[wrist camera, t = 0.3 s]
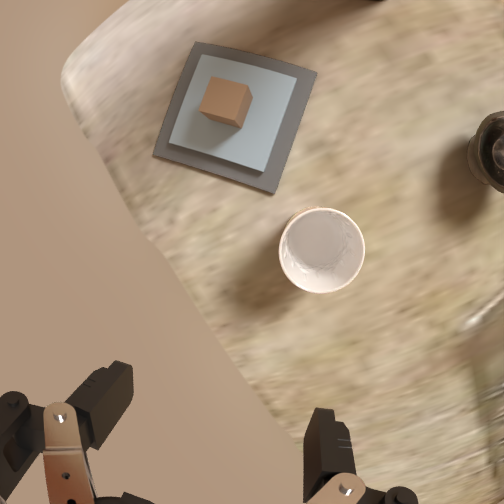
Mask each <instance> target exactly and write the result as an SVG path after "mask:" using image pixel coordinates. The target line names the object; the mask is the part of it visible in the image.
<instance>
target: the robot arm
mask: <svg viewBox="0 0 504 504" xmlns="http://www.w3.org/2000/svg"><path fill="white" fill-rule="evenodd" d="M133 393H134V391H133V368H132V366H131V365H129V364H126V363H123V362H120V361H114V362H113V363H112V364H111V365H110V366H109V368H108V369H107V368H104V367H102V368H100V369H98V370H95V371H94V372H93V373H92V374H91V375H90V376H89V377H88V378H87V379H86V380H85V381H84V382H83V384H81V385H80V386H79V387H78V388H77V389H76V390H75V391H74V392H73V394H72V395H71V396H70V397H69V398H68V399H67V400H66V401H65V402H55V403H52V404H50V405H48V406H47V407H46V408H45V407H40V406H36V405H31V404H29V402H28V399H27V397H26V396H25V395H24V394H22V393H20V392H17V391H10V392H7V393H5V394H3V395H2V396H1V397H0V504H6V500H7V499H8V497H9V496H10V494H11V493H12V491H13V490H14V489H15V487H16V486H17V484H18V483H19V481H20V480H21V479H22V477H23V476H24V474H25V473H26V471H27V470H28V469H29V467H30V466H31V464H32V463H33V462H34V460H35V459H36V457H37V456H38V455H39V453H43V460H44V468H45V477H46V484H47V490H48V497H49V502H50V504H154V503H152V502H151V501H148V500H145V499H143V498H140V497H137V496H134V495H132V494H129V493H126V492H124V493H123V495H122V497H121V498H120V497H98V495H97V492H96V489H95V486H94V482H93V479H92V474H91V471H90V466H89V462H88V458H87V454H86V451H87V449H88V448H89V447H92V448H94V449H96V450H99V448H100V447H101V445H102V444H103V443H104V441H105V440H106V438H107V436H108V435H109V434H110V432H111V431H112V429H113V428H114V426H115V425H116V424H117V422H118V420H119V419H120V418H121V416H122V415H123V413H124V412H125V410H126V409H127V407H128V406H129V405H130V403H131V401H132V397H133ZM350 440H351V439H350V433H349V430H348V428H347V427H346V426H345V424H344V423H343V422H338V421H335V415H334V410H333V409H324V408H315V410H314V412H313V415H312V418H311V420H310V423H309V425H308V428H307V430H306V433H305V437H304V443H303V455H304V479H303V482H304V484H303V485H304V487H303V503H306V504H418V499H417V496H416V494H415V493H414V492H413V491H412V490H410V489H408V488H406V487H401V486H398V487H393V488H391V489H390V490H388V491H387V493H386V492H382V491H378V490H374V489H371V488H368V487H366V486H365V484H364V482H363V480H362V479H361V478H360V477H358V476H357V475H356V469H355V463H354V457H353V451H352V445H351V441H350Z"/></svg>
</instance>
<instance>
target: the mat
mask: <svg viewBox="0 0 504 504" xmlns="http://www.w3.org/2000/svg"><path fill="white" fill-rule="evenodd" d="M202 54H204V55H209V56H214V57H218V58H223V59H228V60H232V61H236V62H240V63H245V64H249V65H252V66H256V67H260V68H264V69H267V70H271V71H274V72H278V73H281V74H285V75H288V76H291V77H294V78H297V81H296V84H295V87H294V90H293V92H292V95H291V98H290V101H289V103H288V106H287V109H286V112H285V115H284V117H283V120H282V123H281V126H280V129H279V131H278V134H277V137H276V140H275V143H274V146H273V148H272V151H271V154H270V157H269V160H268V163H267V166H266V168H265V171H264V172H262V171H259V170H256V169H253V168H250V167H247V166H244V165H241V164H238V163H235V162H232V161H229V160H225V159H222V158H219V157H216V156H213V155H209V154H206V153H203V152H199V151H196V150H193V149H189V148H186V147H182V146H179V145H175V144H172V143H169V140H170V137H171V134H172V131H173V128H174V125H175V123H176V120H177V117H178V114H179V111H180V109H181V106H182V103H183V100H184V98H185V95H186V92H187V90H188V87H189V85H190V82H191V80H192V77H193V75H194V72H195V70H196V67H197V65H198V62H199V60H200V58H201V55H202ZM316 76H317V72H315V71H312V70H309V69H306V68H302V67H299V66H296V65H293V64H290V63H286V62H283V61H279V60H276V59H272V58H269V57H265V56H261V55H257V54H253V53H249V52H245V51H240V50H236V49H232V48H227V47H222V46H217V45H212V44H206V43H201V42H195V43H194V46H193V48H192V50H191V53H190V55H189V57H188V60H187V62H186V64H185V67H184V69H183V72H182V74H181V77H180V79H179V82H178V84H177V87H176V89H175V92H174V95H173V97H172V100H171V103H170V105H169V108H168V111H167V114H166V117H165V119H164V122H163V125H162V128H161V131H160V134H159V137H158V140H157V143H156V146H155V149H154V152H153V155H156V156H159V157H163V158H166V159H169V160H173V161H176V162H179V163H183V164H186V165H189V166H192V167H195V168H199V169H202V170H205V171H208V172H211V173H214V174H217V175H221V176H224V177H227V178H230V179H233V180H236V181H239V182H242V183H245V184H248V185H250V186H253V187H256V188H259V189H262V190H265V191H268V192H271V193H273V194H275V192H276V189H277V187H278V184H279V181H280V178H281V175H282V172H283V170H284V167H285V164H286V161H287V158H288V155H289V152H290V150H291V147H292V144H293V141H294V138H295V135H296V133H297V130H298V127H299V124H300V121H301V118H302V116H303V113H304V110H305V107H306V104H307V101H308V98H309V96H310V93H311V90H312V87H313V84H314V81H315V78H316Z"/></svg>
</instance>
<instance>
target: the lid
mask: <svg viewBox="0 0 504 504" xmlns="http://www.w3.org/2000/svg"><path fill="white" fill-rule="evenodd" d="M296 81H297V78H294V77H291V76H288V75H285V74H281V73H278V72H274V71H271V70H267V69H264V68H260V67H256V66H252V65H249V64H245V63H240V62H236V61H232V60H228V59H223V58H218V57H214V56H209V55H204V54H202V55H201V58H200V60H199V62H198V65H197V67H196V70H195V72H194V75H193V77H192V80H191V82H190V85H189V87H188V90H187V92H186V95H185V98H184V100H183V103H182V106H181V109H180V111H179V114H178V117H177V120H176V123H175V125H174V128H173V131H172V134H171V137H170V140H169V143H172V144H175V145H179V146H182V147H186V148H189V149H193V150H196V151H199V152H203V153H206V154H209V155H213V156H216V157H219V158H222V159H225V160H229V161H232V162H235V163H238V164H241V165H244V166H247V167H250V168H253V169H256V170H259V171H262V172H264V171H265V168H266V166H267V163H268V160H269V157H270V154H271V151H272V148H273V146H274V143H275V140H276V137H277V134H278V131H279V129H280V126H281V123H282V120H283V117H284V115H285V112H286V109H287V106H288V103H289V101H290V98H291V95H292V92H293V90H294V87H295V84H296Z"/></svg>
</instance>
